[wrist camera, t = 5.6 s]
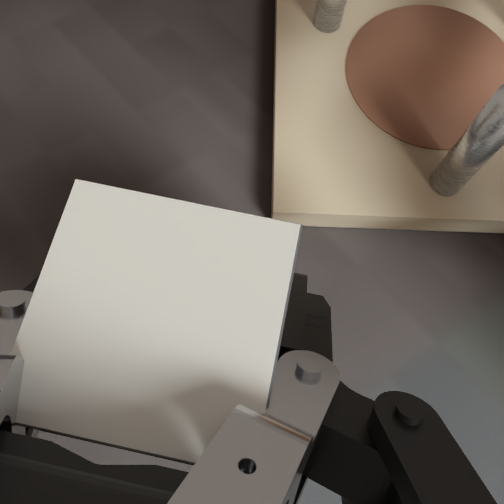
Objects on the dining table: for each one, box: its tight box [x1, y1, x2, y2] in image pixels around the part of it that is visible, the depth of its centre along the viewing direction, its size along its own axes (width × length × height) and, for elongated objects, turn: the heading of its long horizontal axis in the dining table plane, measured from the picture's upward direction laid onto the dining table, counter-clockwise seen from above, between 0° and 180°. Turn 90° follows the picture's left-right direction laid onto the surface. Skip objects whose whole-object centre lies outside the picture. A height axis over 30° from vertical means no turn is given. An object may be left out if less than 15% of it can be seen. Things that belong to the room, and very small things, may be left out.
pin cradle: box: [271, 0, 504, 233], centre depth 18 cm, size 13×13×6 cm
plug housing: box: [10, 179, 303, 465], centre depth 13 cm, size 4×4×9 cm
